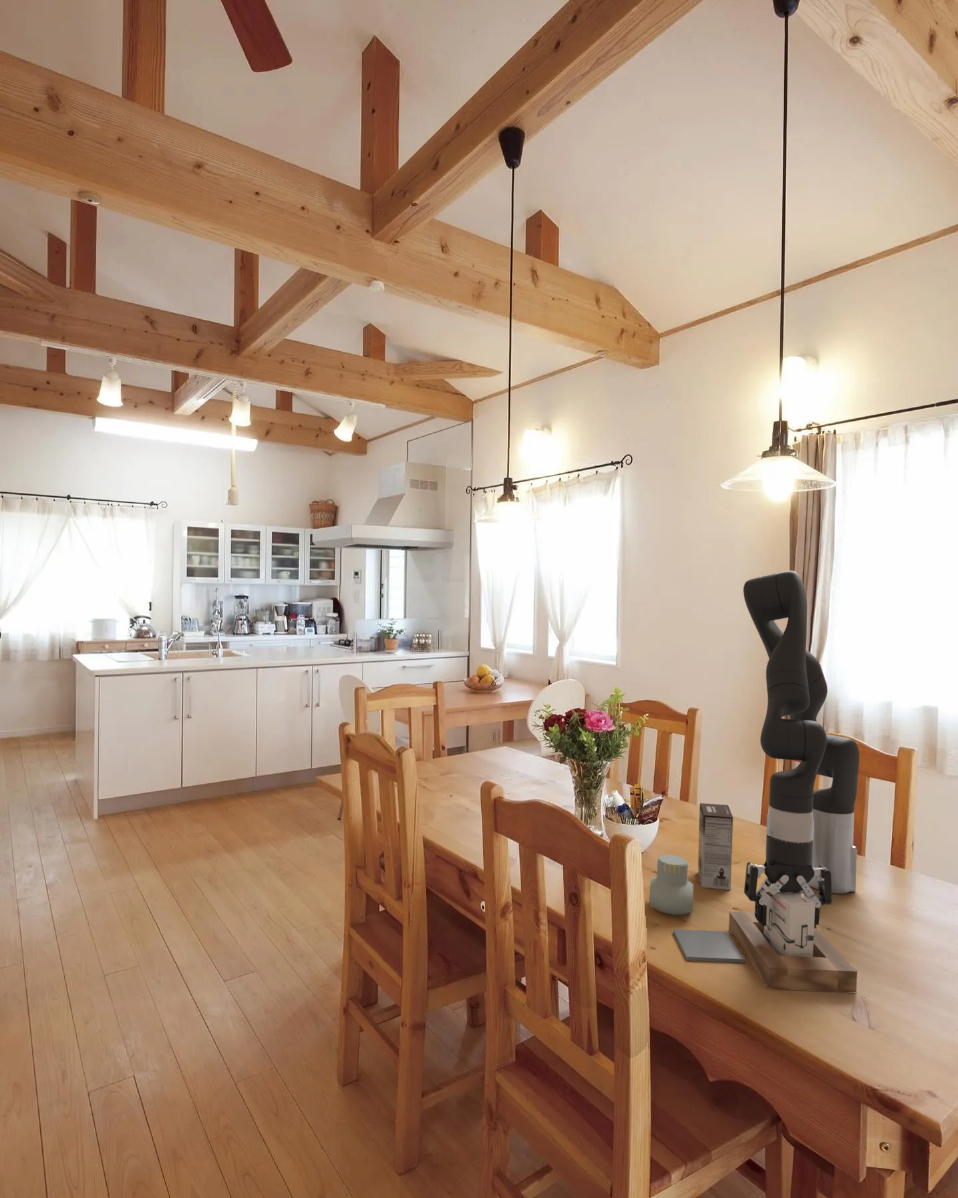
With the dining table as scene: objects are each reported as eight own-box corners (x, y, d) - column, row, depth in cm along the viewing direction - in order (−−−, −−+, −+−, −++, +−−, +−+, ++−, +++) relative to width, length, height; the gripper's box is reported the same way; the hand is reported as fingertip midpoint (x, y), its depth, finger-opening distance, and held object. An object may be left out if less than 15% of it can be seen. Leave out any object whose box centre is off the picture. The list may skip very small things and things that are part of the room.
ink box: (761, 947, 128) (763, 882, 127) (788, 946, 128) (790, 882, 128) (786, 972, 119) (788, 903, 119) (814, 972, 119) (816, 903, 119)
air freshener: (692, 924, 136) (694, 873, 135) (648, 917, 138) (649, 867, 138) (692, 901, 146) (694, 853, 146) (651, 895, 148) (653, 847, 148)
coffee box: (696, 871, 162) (698, 802, 162) (726, 874, 160) (728, 804, 160) (701, 888, 153) (703, 814, 152) (732, 891, 151) (734, 816, 151)
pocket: (803, 932, 133) (804, 914, 133) (856, 993, 113) (857, 971, 113) (728, 929, 134) (729, 911, 134) (768, 989, 114) (768, 967, 114)
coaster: (726, 934, 132) (726, 931, 132) (745, 962, 122) (745, 959, 122) (673, 932, 132) (673, 929, 132) (686, 960, 122) (686, 956, 122)
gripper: (821, 828, 127) (818, 917, 127) (741, 824, 127) (738, 913, 127) (841, 842, 119) (837, 937, 119) (756, 838, 120) (752, 933, 120)
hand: (786, 925), depth 123 cm, fingers open, 8 cm apart
